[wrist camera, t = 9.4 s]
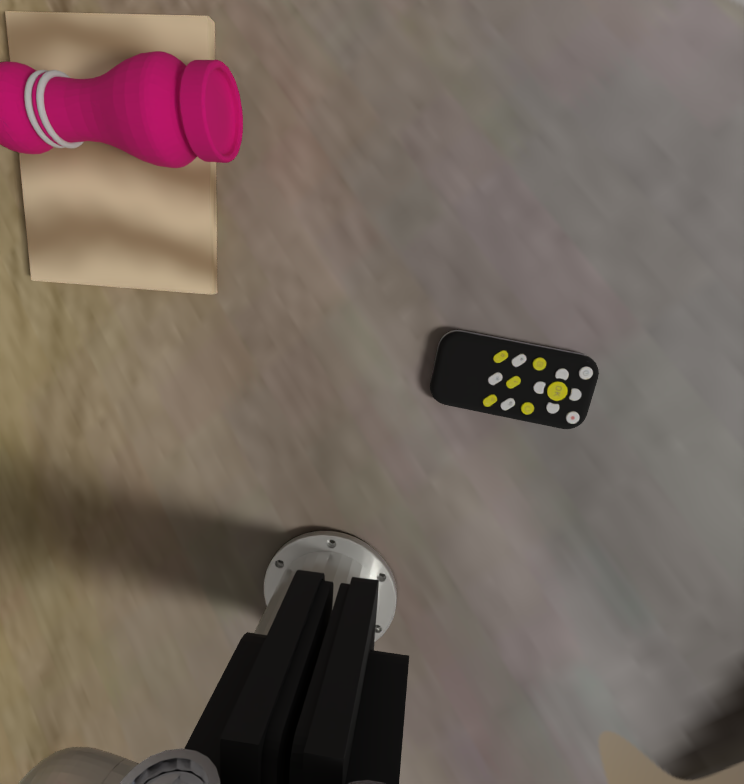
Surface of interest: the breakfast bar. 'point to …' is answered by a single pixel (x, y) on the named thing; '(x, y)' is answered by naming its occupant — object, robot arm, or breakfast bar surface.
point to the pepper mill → (126, 110)
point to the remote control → (513, 379)
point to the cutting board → (115, 167)
